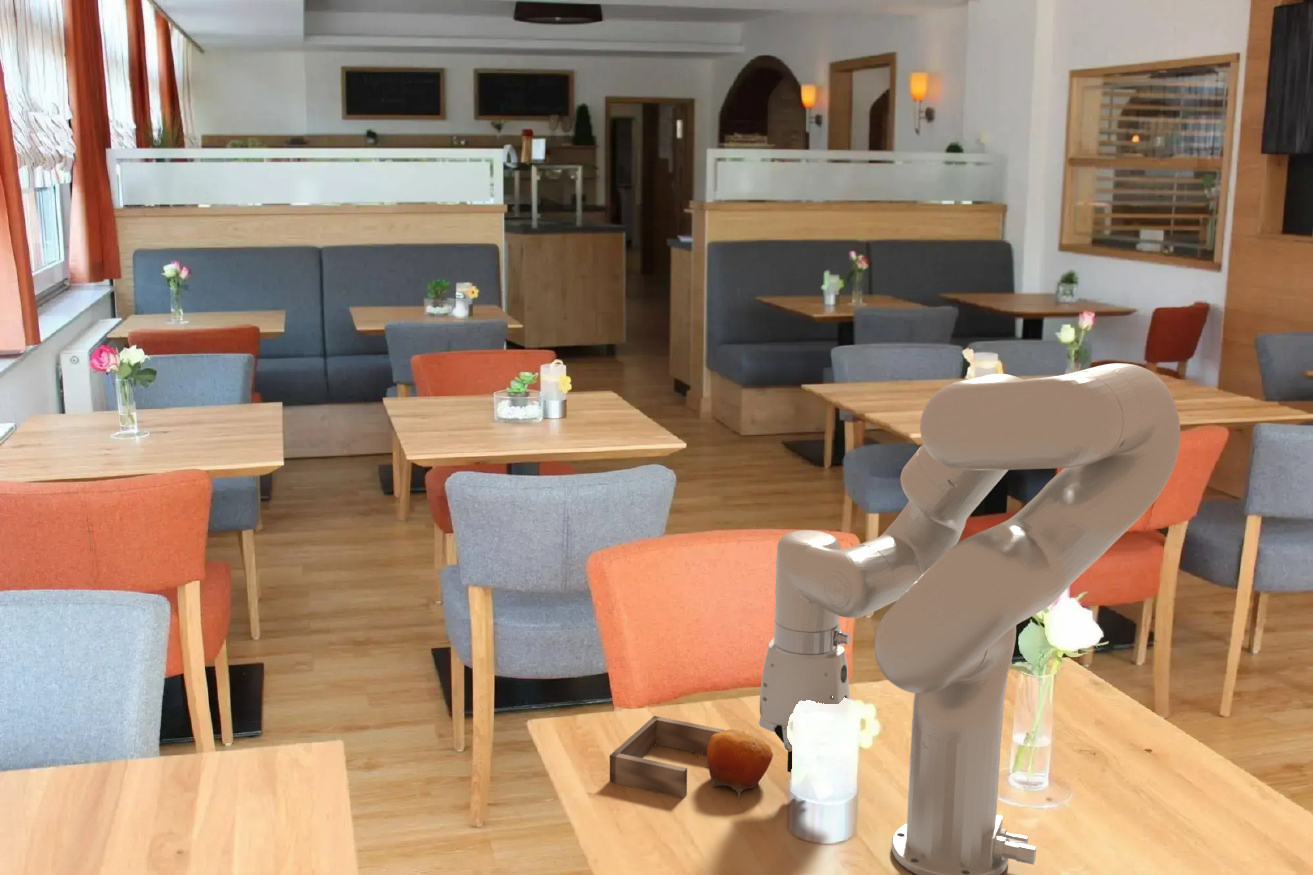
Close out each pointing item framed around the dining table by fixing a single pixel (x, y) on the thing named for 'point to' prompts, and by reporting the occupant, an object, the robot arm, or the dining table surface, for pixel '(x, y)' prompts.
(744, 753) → the fruit
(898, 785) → the dining table surface
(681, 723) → the u-shaped wall frame
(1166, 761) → the dining table surface
